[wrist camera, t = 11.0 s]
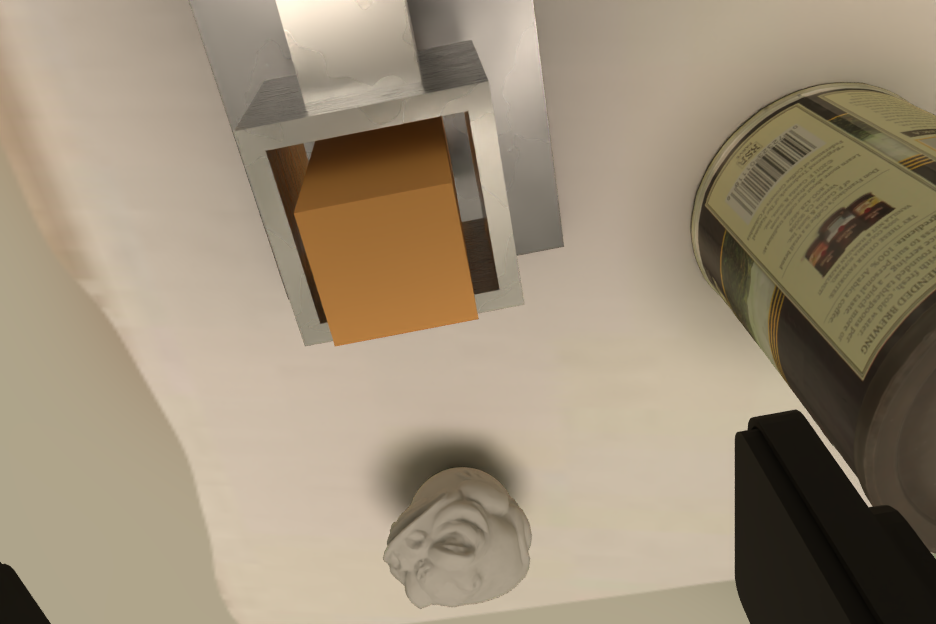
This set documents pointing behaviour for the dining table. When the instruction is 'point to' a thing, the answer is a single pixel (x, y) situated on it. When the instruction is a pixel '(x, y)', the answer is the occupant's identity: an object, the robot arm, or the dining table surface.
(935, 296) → the coffee can
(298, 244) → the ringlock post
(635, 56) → the dining table surface
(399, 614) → the dining table surface
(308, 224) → the orange rectangular block
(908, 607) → the robot arm
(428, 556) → the plaster head sculpture
